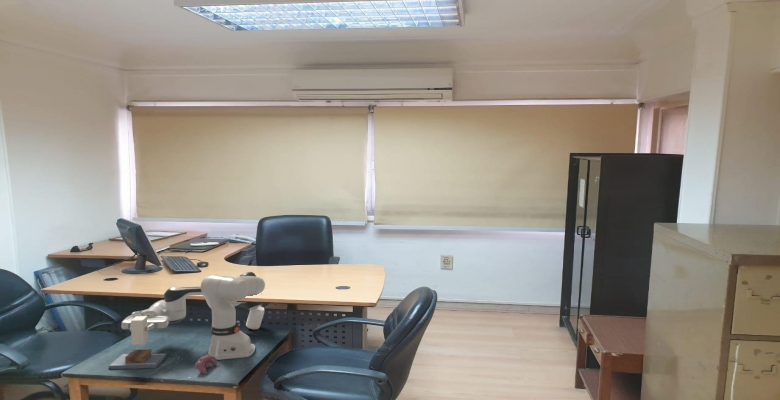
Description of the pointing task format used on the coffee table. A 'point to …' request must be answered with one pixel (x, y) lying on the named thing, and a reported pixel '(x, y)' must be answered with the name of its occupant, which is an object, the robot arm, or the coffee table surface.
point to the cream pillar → (139, 330)
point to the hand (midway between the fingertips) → (138, 329)
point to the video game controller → (205, 363)
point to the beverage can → (255, 318)
